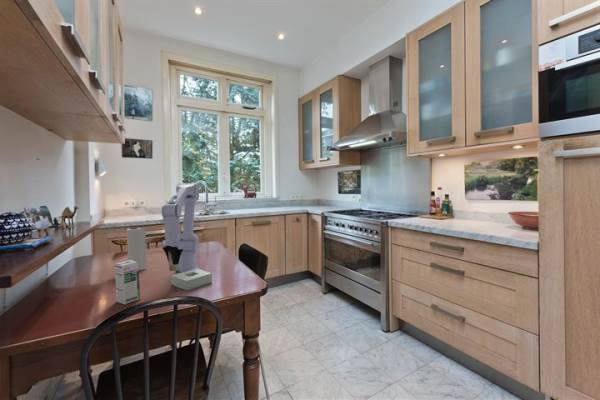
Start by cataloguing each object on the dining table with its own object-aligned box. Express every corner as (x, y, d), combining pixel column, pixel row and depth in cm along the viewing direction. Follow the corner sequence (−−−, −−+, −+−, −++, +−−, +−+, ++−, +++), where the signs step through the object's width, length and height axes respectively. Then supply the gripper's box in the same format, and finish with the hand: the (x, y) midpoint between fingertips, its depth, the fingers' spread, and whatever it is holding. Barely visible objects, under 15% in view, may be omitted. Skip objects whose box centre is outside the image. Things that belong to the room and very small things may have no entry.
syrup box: (124, 305, 98) (122, 265, 97) (116, 301, 101) (114, 262, 100) (140, 299, 103) (138, 261, 102) (132, 296, 106) (130, 259, 105)
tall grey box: (125, 271, 137) (123, 229, 136) (135, 267, 143) (133, 227, 142) (137, 272, 136) (135, 229, 134) (147, 268, 141) (145, 227, 140)
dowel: (167, 269, 117) (166, 251, 116) (175, 268, 119) (174, 249, 119) (171, 271, 115) (170, 252, 114) (178, 269, 117) (177, 251, 116)
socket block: (171, 284, 118) (171, 275, 118) (196, 276, 128) (196, 268, 127) (186, 290, 111) (186, 280, 111) (212, 282, 120) (211, 273, 120)
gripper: (154, 231, 117) (156, 262, 118) (171, 235, 108) (172, 268, 109) (171, 229, 123) (172, 259, 124) (188, 232, 114) (189, 264, 115)
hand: (173, 263), depth 117 cm, fingers closed on dowel, 3 cm apart
